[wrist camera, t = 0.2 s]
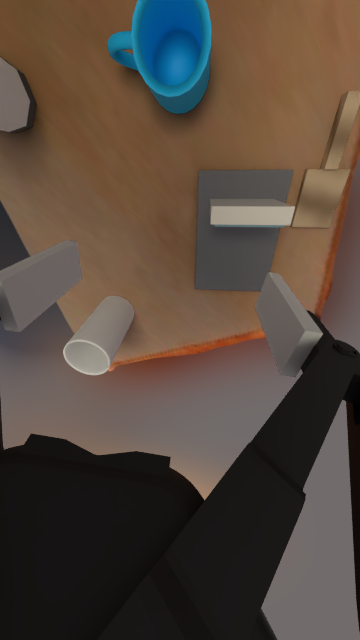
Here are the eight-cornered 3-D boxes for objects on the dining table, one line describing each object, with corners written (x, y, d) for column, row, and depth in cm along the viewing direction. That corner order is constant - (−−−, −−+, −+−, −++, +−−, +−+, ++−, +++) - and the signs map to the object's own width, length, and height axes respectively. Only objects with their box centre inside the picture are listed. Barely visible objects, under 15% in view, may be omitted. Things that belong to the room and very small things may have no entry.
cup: (114, 288, 48) (79, 332, 34) (141, 313, 51) (119, 362, 37) (93, 308, 51) (54, 355, 38) (120, 330, 54) (92, 381, 41)
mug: (216, 27, 26) (219, -24, 20) (204, 117, 31) (203, 101, 24) (118, 14, 26) (89, -40, 20) (121, 106, 31) (97, 87, 24)
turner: (325, 95, 28) (331, 91, 27) (374, 94, 28) (382, 90, 27) (290, 225, 38) (293, 227, 36) (326, 226, 37) (330, 228, 36)
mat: (199, 170, 34) (198, 170, 33) (290, 169, 33) (293, 169, 32) (195, 286, 45) (194, 289, 44) (263, 288, 44) (264, 291, 43)
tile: (210, 198, 35) (211, 206, 27) (273, 198, 34) (295, 206, 26) (209, 215, 37) (210, 227, 28) (270, 215, 36) (289, 228, 28)
